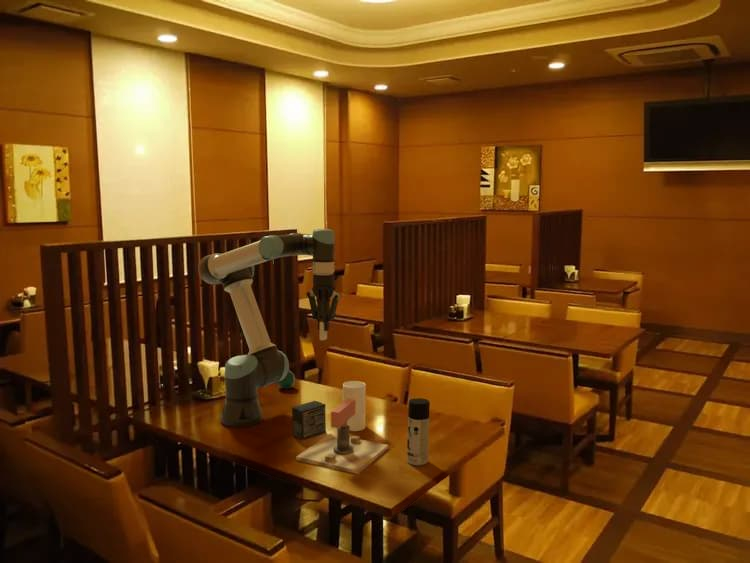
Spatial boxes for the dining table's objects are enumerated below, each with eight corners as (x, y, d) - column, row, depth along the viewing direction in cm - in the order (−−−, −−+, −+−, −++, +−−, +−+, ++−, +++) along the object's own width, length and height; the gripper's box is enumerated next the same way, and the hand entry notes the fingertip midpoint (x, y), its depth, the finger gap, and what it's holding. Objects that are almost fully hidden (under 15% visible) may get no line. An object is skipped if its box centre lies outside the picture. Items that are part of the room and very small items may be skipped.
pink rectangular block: (338, 434, 199) (338, 412, 198) (331, 433, 200) (331, 411, 199) (355, 419, 212) (355, 399, 211) (348, 418, 213) (348, 398, 212)
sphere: (273, 390, 272) (273, 372, 271) (279, 384, 280) (279, 367, 278) (292, 391, 270) (291, 373, 269) (297, 386, 278) (297, 368, 277)
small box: (314, 427, 230) (315, 399, 229) (326, 432, 225) (326, 404, 224) (291, 435, 223) (291, 406, 221) (302, 440, 218) (302, 410, 217)
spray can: (405, 457, 205) (406, 397, 202) (426, 457, 206) (427, 397, 203) (408, 466, 199) (409, 404, 196) (429, 465, 199) (431, 404, 196)
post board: (296, 460, 202) (296, 432, 201) (330, 436, 222) (330, 411, 220) (358, 474, 193) (358, 445, 191) (388, 448, 212) (388, 421, 211)
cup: (362, 432, 226) (362, 388, 224) (340, 430, 228) (340, 386, 226) (367, 424, 234) (367, 381, 232) (345, 422, 236) (346, 380, 234)
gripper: (345, 273, 223) (344, 339, 227) (313, 271, 229) (312, 335, 232) (334, 276, 217) (334, 343, 220) (301, 273, 222) (302, 339, 226)
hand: (323, 339), depth 226 cm, fingers closed
